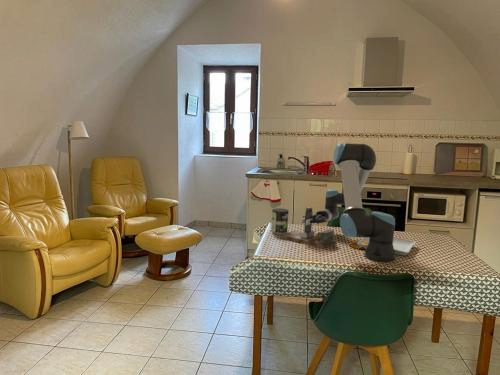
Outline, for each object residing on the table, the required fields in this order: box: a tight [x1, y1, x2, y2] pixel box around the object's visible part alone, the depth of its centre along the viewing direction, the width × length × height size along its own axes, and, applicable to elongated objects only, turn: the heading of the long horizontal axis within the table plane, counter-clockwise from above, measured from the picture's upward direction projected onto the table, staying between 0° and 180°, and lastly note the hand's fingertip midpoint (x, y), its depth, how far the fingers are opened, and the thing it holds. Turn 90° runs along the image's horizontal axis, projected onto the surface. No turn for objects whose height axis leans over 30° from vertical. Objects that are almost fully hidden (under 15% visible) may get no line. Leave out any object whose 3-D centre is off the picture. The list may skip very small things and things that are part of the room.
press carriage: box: [301, 207, 316, 239], centre depth 228 cm, size 4×9×17 cm, turn 142°
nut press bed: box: [280, 228, 337, 249], centre depth 228 cm, size 28×14×8 cm, turn 52°
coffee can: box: [271, 208, 289, 235], centre depth 245 cm, size 10×10×14 cm
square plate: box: [356, 236, 417, 256], centre depth 222 cm, size 27×27×4 cm
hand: (303, 221), depth 223 cm, fingers closed on press carriage, 3 cm apart
